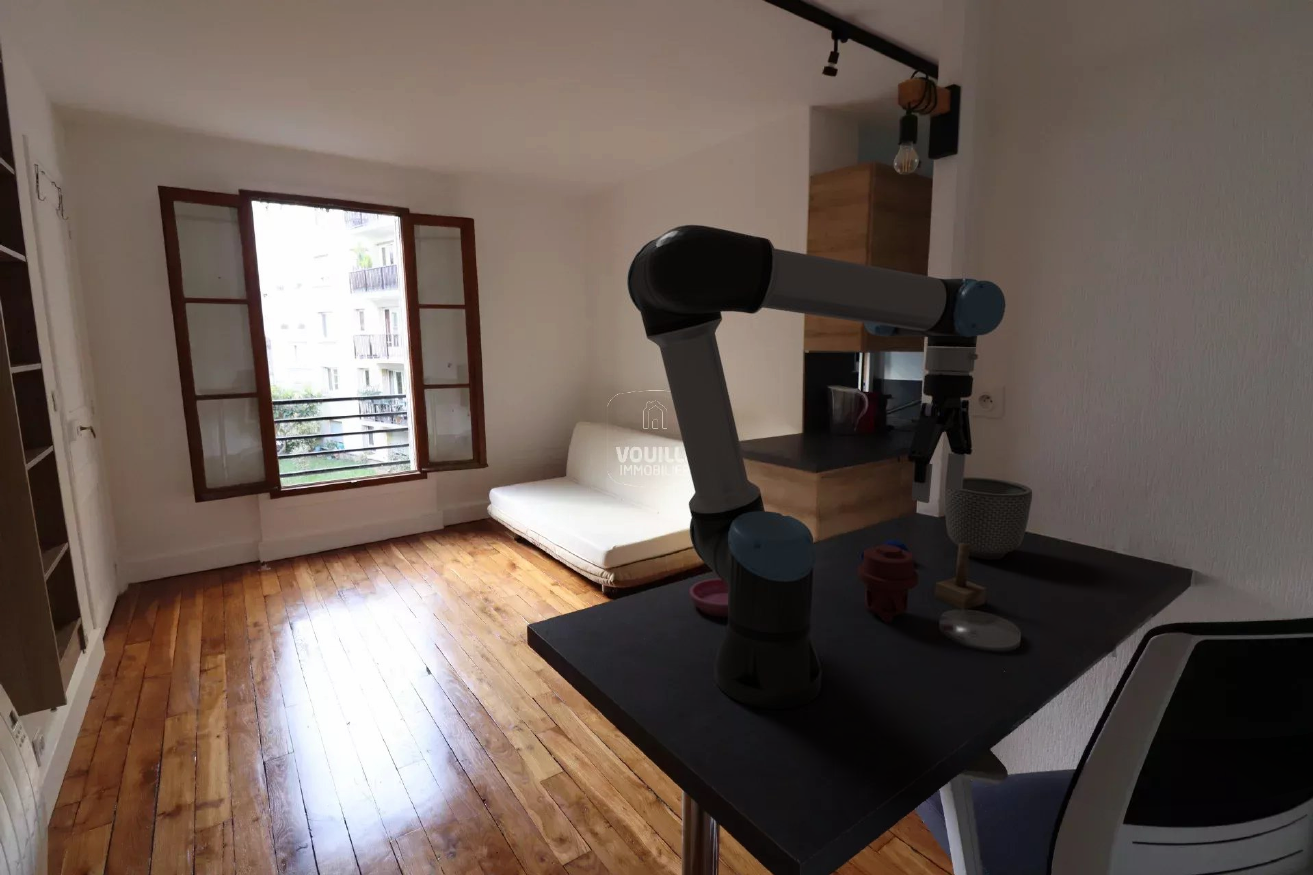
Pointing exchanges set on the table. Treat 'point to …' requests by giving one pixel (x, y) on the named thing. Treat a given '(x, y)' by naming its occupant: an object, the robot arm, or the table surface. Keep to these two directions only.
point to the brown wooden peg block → (960, 585)
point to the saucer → (711, 597)
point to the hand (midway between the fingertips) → (937, 495)
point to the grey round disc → (980, 630)
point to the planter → (988, 516)
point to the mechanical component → (887, 580)
